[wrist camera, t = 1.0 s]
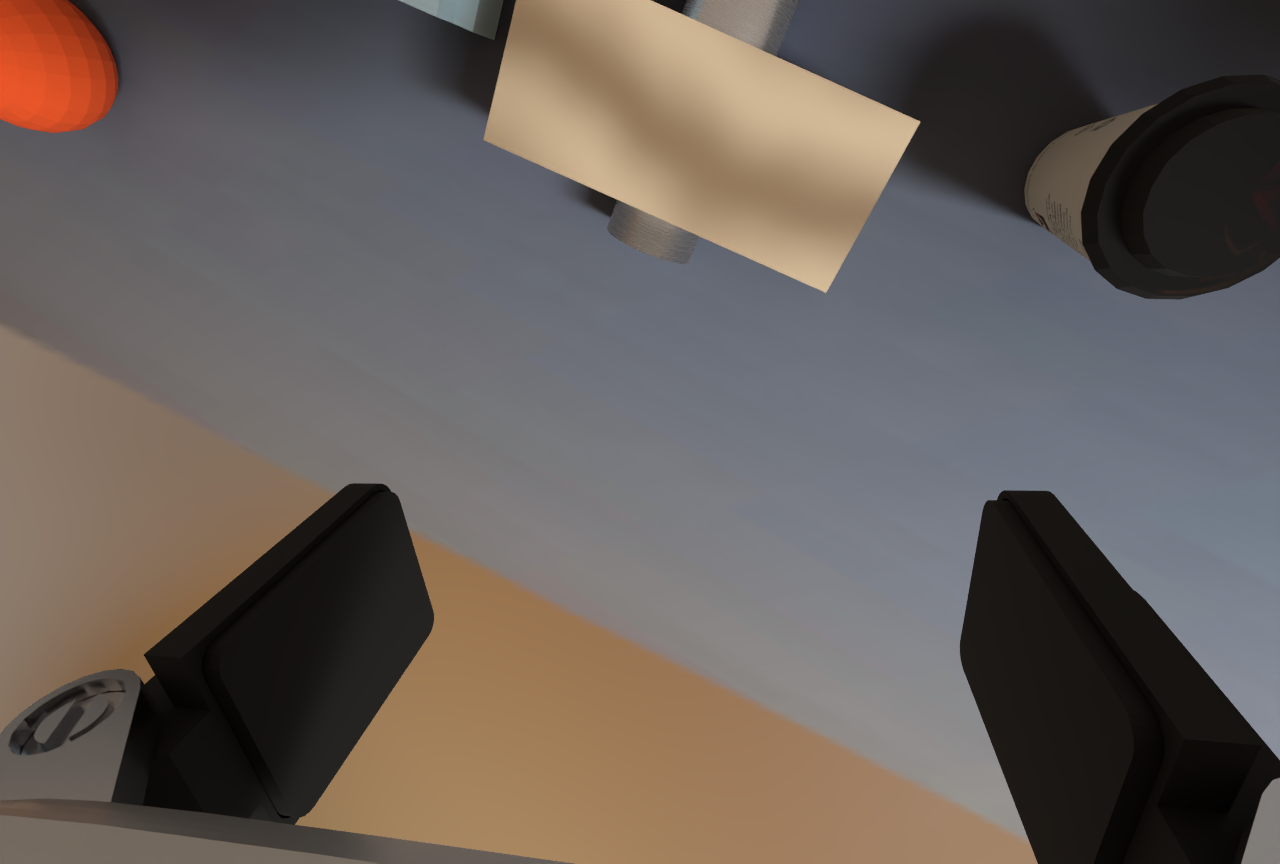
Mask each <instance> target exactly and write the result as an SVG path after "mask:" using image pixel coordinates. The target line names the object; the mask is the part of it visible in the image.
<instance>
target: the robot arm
mask: <svg viewBox="0 0 1280 864" xmlns="http://www.w3.org/2000/svg"><path fill="white" fill-rule="evenodd" d="M433 622H434V613H433V609H432V606H431V602H430V599H429V596H428V592H427V589H426V586H425V582H424V579H423V576H422V573H421V569H420V566H419V563H418V559H417V556H416V553H415V549H414V546H413V543H412V539H411V536H410V533H409V530H408V526H407V523H406V520H405V516H404V513H403V510H402V506H401V503H400V500H399V498H398V496H397V495H396V494H395V493H393V492H391V491H390V489H389V488H388V487H387V486H386V485H384V484H349V485H347V486H346V487H344V488H343V489H342V490H341V491H339V492H338V493H337V494H336V495H335V496H334V497H332V498H331V499H330V500H329V501H328V502H326V503H325V504H324V505H323V506H321V507H320V508H319V509H318V510H317V511H315V512H314V513H313V514H312V515H311V516H309V518H307V519H306V520H305V521H303V522H302V523H301V524H300V525H299V526H297V527H296V528H295V529H294V530H293V531H292V532H290V533H289V534H288V535H287V536H285V537H284V538H283V539H282V540H281V541H279V542H278V543H277V544H276V545H275V546H273V547H272V548H271V549H270V550H269V551H267V552H266V553H265V554H264V555H263V556H261V557H260V558H259V559H258V560H257V561H255V562H254V563H253V564H252V565H251V566H250V567H248V568H247V569H246V570H245V571H244V572H242V573H241V574H240V575H239V576H237V577H236V578H235V579H234V580H233V581H232V582H230V583H229V584H228V585H227V586H226V587H225V588H223V589H222V590H221V591H220V592H218V593H217V594H216V595H215V596H214V597H212V598H211V599H210V600H209V601H208V602H206V603H205V604H204V605H203V606H202V607H200V608H199V609H198V610H197V611H196V612H194V613H193V614H192V615H191V616H190V617H188V618H187V619H186V620H185V621H184V622H183V623H181V624H180V625H179V626H178V627H177V628H175V629H174V630H173V631H172V632H170V633H169V634H168V635H167V636H166V637H164V638H163V639H162V640H161V641H160V642H158V643H157V644H156V645H155V646H154V647H152V648H151V649H150V650H149V651H148V652H146V653H145V654H144V656H145V658H146V659H147V661H148V663H149V665H150V666H151V668H152V670H153V671H154V673H155V676H154V677H152V678H151V679H150V680H149V681H148V682H147V683H146V684H145V685H144V683H143V682H142V680H141V679H140V677H139V676H138V675H137V674H136V673H134V671H130V670H124V669H116V670H106V671H102V672H98V673H95V674H92V675H88V676H84V677H82V678H80V679H77V680H75V681H73V682H70V683H68V684H66V685H64V686H61V687H60V688H58V689H56V690H54V691H53V692H51V693H49V694H47V695H46V696H44V697H42V698H40V699H39V700H38V701H36V702H35V703H34V704H32V705H31V706H29V707H28V708H27V709H25V710H24V711H22V712H21V713H20V714H19V715H18V716H17V717H16V718H15V719H14V720H13V721H11V723H9V724H8V725H7V726H6V727H5V728H4V730H3V731H2V732H1V734H0V864H571V863H565V862H557V861H551V860H543V859H537V858H530V857H522V856H515V855H509V854H502V853H495V852H487V851H480V850H473V849H466V848H459V847H451V846H445V845H437V844H431V843H423V842H416V841H409V840H402V839H395V838H387V837H380V836H373V835H366V834H358V833H350V832H343V831H336V830H329V829H321V828H314V827H306V826H299V825H295V823H296V822H297V821H298V819H299V818H300V817H302V816H305V815H306V814H307V813H309V812H310V811H311V810H312V808H313V807H314V806H315V804H316V803H317V801H318V800H319V798H320V797H321V795H322V794H323V793H324V791H325V790H326V788H327V786H328V785H329V783H330V782H331V780H332V779H333V778H334V776H335V775H336V773H337V772H338V770H339V769H340V767H341V766H342V764H343V763H344V761H345V760H346V758H347V756H348V755H349V754H350V752H351V751H352V749H353V748H354V746H355V745H356V743H357V742H358V740H359V739H360V737H361V736H362V734H363V733H364V731H365V730H366V728H367V727H368V725H369V724H370V722H371V721H372V719H373V718H374V716H375V715H376V713H377V712H378V710H379V709H380V707H381V706H382V704H383V703H384V701H385V700H386V698H387V697H388V695H389V694H390V692H391V691H392V689H393V688H394V687H395V685H396V684H397V682H398V681H399V679H400V678H401V676H402V675H403V673H404V671H405V670H406V669H407V667H408V666H409V664H410V663H411V661H412V660H413V658H414V657H415V655H416V654H417V652H418V651H419V649H420V648H421V646H422V645H423V643H424V642H425V640H426V639H427V637H428V636H429V634H430V632H431V630H432V627H433ZM960 656H961V662H962V666H963V670H964V672H965V675H966V677H967V680H968V683H969V685H970V688H971V690H972V693H973V696H974V698H975V701H976V704H977V706H978V709H979V711H980V714H981V717H982V719H983V722H984V724H985V727H986V730H987V732H988V735H989V737H990V740H991V743H992V745H993V748H994V750H995V753H996V756H997V758H998V761H999V763H1000V766H1001V769H1002V771H1003V774H1004V776H1005V779H1006V782H1007V784H1008V787H1009V789H1010V792H1011V795H1012V797H1013V800H1014V802H1015V805H1016V808H1017V810H1018V813H1019V815H1020V818H1021V821H1022V823H1023V826H1024V829H1025V831H1026V834H1027V836H1028V839H1029V842H1030V844H1031V847H1032V849H1033V852H1034V854H1035V857H1036V860H1037V862H1038V864H1280V760H1279V759H1278V758H1277V757H1276V755H1275V754H1274V753H1273V752H1272V751H1271V749H1270V748H1269V747H1268V746H1267V745H1266V743H1265V742H1264V741H1263V740H1262V739H1261V737H1260V736H1259V735H1258V734H1257V733H1256V731H1255V730H1254V729H1253V728H1252V727H1251V726H1250V724H1249V723H1248V722H1247V721H1246V720H1245V718H1244V717H1243V716H1242V715H1241V714H1240V712H1239V711H1238V710H1237V709H1236V708H1235V706H1234V705H1233V704H1232V703H1231V702H1230V700H1229V699H1228V698H1227V697H1226V696H1225V694H1224V693H1223V692H1222V691H1221V690H1220V689H1219V687H1218V686H1217V685H1216V684H1215V683H1214V681H1213V680H1212V679H1211V678H1210V677H1209V675H1208V674H1207V673H1206V672H1205V671H1204V669H1203V668H1202V667H1201V666H1200V665H1199V663H1198V662H1197V661H1196V660H1195V659H1194V657H1193V656H1192V655H1191V654H1190V653H1189V652H1188V650H1187V649H1186V648H1185V647H1184V646H1183V644H1182V643H1181V642H1180V641H1179V640H1178V638H1177V637H1176V636H1175V635H1174V634H1173V632H1172V631H1171V630H1170V629H1169V628H1168V626H1167V625H1166V624H1165V623H1164V622H1163V620H1162V619H1161V618H1160V617H1159V616H1158V615H1157V613H1156V612H1155V611H1154V610H1153V609H1152V607H1151V606H1150V605H1149V604H1148V603H1147V601H1146V600H1145V599H1144V598H1143V597H1142V596H1140V595H1139V594H1138V593H1137V592H1136V591H1134V590H1133V589H1132V588H1131V587H1130V586H1129V585H1128V583H1127V582H1126V581H1125V580H1124V579H1123V577H1122V576H1121V575H1120V574H1119V573H1118V571H1117V570H1116V569H1115V568H1114V566H1113V565H1112V564H1111V563H1110V562H1109V560H1108V559H1107V558H1106V557H1105V556H1104V554H1103V553H1102V552H1101V551H1100V550H1099V548H1098V547H1097V546H1096V545H1095V544H1094V542H1093V541H1092V540H1091V539H1090V538H1089V536H1088V535H1087V534H1086V533H1085V532H1084V530H1083V529H1082V528H1081V527H1080V525H1079V524H1078V523H1077V522H1076V521H1075V519H1074V518H1073V517H1072V516H1071V515H1070V513H1069V512H1068V511H1067V510H1066V509H1065V507H1064V506H1063V505H1062V504H1061V503H1060V501H1059V500H1058V499H1057V498H1056V497H1055V495H1054V494H1052V493H1051V492H1049V491H1002V492H1001V493H1000V495H999V496H998V499H997V501H996V500H988V501H987V502H986V503H985V505H984V508H983V512H982V518H981V524H980V530H979V536H978V541H977V547H976V553H975V559H974V565H973V571H972V576H971V582H970V588H969V594H968V600H967V605H966V611H965V617H964V623H963V629H962V634H961V640H960Z"/></svg>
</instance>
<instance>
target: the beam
mask: <svg viewBox="0 0 1280 864" xmlns="http://www.w3.org/2000/svg"><path fill="white" fill-rule="evenodd" d="M919 124H920V121H918V120H916V119H913V118H911V117H909V116H907V115H905V114H902V113H900V112H898V111H896V110H893V109H891V108H889V107H887V106H885V105H882V104H880V103H878V102H876V101H873V100H871V99H869V98H867V97H865V96H862V95H860V94H858V93H856V92H853V91H851V90H849V89H847V88H845V87H842V86H840V85H838V84H836V83H834V82H831V81H829V80H827V79H825V78H822V77H820V76H818V75H816V74H814V73H811V72H809V71H807V70H805V69H802V68H800V67H798V66H796V65H794V64H791V63H789V62H787V61H785V60H782V59H780V58H778V57H776V56H774V55H771V54H769V53H767V52H765V51H762V50H760V49H758V48H756V47H754V46H751V45H749V44H747V43H745V42H742V41H740V40H738V39H736V38H734V37H731V36H729V35H727V34H725V33H723V32H720V31H718V30H716V29H714V28H711V27H709V26H707V25H705V24H703V23H700V22H698V21H696V20H694V19H691V18H689V17H687V16H685V15H683V14H680V13H678V12H676V11H674V10H671V9H669V8H667V7H665V6H663V5H660V4H658V3H656V2H654V1H651V0H516V3H515V8H514V12H513V16H512V20H511V25H510V29H509V33H508V37H507V42H506V46H505V50H504V55H503V59H502V63H501V67H500V72H499V76H498V80H497V84H496V89H495V93H494V97H493V101H492V106H491V110H490V114H489V119H488V123H487V127H486V131H485V136H484V140H485V141H487V142H489V143H491V144H494V145H496V146H498V147H500V148H503V149H505V150H507V151H509V152H512V153H514V154H516V155H518V156H521V157H523V158H525V159H527V160H529V161H532V162H534V163H536V164H538V165H541V166H543V167H545V168H547V169H550V170H552V171H554V172H556V173H559V174H561V175H563V176H565V177H568V178H570V179H572V180H574V181H577V182H579V183H581V184H583V185H586V186H588V187H590V188H592V189H595V190H597V191H599V192H601V193H604V194H606V195H608V196H610V197H612V198H615V199H617V200H619V201H621V202H624V203H626V204H628V205H630V206H633V207H635V208H637V209H639V210H642V211H644V212H646V213H648V214H651V215H653V216H655V217H657V218H660V219H662V220H664V221H666V222H669V223H671V224H673V225H675V226H678V227H680V228H682V229H684V230H687V231H689V232H691V233H693V234H695V235H698V236H700V237H702V238H704V239H707V240H709V241H711V242H713V243H716V244H718V245H720V246H722V247H725V248H727V249H729V250H731V251H734V252H736V253H738V254H740V255H743V256H745V257H747V258H749V259H752V260H754V261H756V262H758V263H761V264H763V265H765V266H767V267H770V268H772V269H774V270H776V271H778V272H781V273H783V274H785V275H787V276H790V277H792V278H794V279H796V280H799V281H801V282H803V283H805V284H808V285H810V286H812V287H814V288H817V289H819V290H821V291H823V292H827V290H828V288H829V287H830V285H831V283H832V281H833V279H834V278H835V276H836V274H837V272H838V270H839V269H840V267H841V265H842V263H843V261H844V259H845V258H846V256H847V254H848V252H849V250H850V249H851V247H852V245H853V243H854V241H855V240H856V238H857V236H858V234H859V232H860V231H861V229H862V227H863V225H864V223H865V221H866V220H867V218H868V216H869V214H870V212H871V211H872V209H873V207H874V205H875V203H876V202H877V200H878V198H879V196H880V194H881V193H882V191H883V189H884V187H885V185H886V183H887V182H888V180H889V178H890V176H891V174H892V173H893V171H894V169H895V167H896V165H897V164H898V162H899V160H900V158H901V156H902V155H903V153H904V151H905V149H906V147H907V145H908V144H909V142H910V140H911V138H912V136H913V135H914V133H915V131H916V129H917V127H918V126H919Z"/></svg>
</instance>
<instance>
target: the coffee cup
mask: <svg viewBox="0 0 1280 864" xmlns="http://www.w3.org/2000/svg"><path fill="white" fill-rule="evenodd" d="M1024 193H1025V205H1026V207H1027V209H1028V211H1029V213H1030V215H1031V217H1032V218H1033V219H1034V220H1035V221H1036V222H1037V223H1039V224H1040V225H1041V226H1042V227H1043V228H1045V229H1046V230H1048V231H1049V232H1050V233H1052V234H1053V235H1054V236H1056V237H1057V238H1059V239H1060V240H1061V241H1063V242H1064V243H1066V244H1067V245H1068V246H1070V247H1071V248H1073V249H1074V250H1075V251H1077V252H1078V253H1080V254H1081V255H1082V256H1084V257H1085V258H1087V259H1088V260H1089V261H1091V263H1092V265H1093V267H1094V269H1095V270H1096V271H1097V272H1098V273H1099V274H1100V275H1101V276H1103V277H1104V278H1105V279H1106V280H1107V281H1108V282H1110V283H1111V284H1112V285H1113V286H1114V287H1115V288H1117V289H1119V290H1122V291H1125V292H1128V293H1131V294H1134V295H1137V296H1140V297H1143V298H1146V299H1184V298H1188V297H1192V296H1197V295H1201V294H1205V293H1209V292H1213V291H1218V290H1221V289H1225V288H1229V287H1231V286H1233V285H1235V284H1237V283H1239V282H1241V281H1243V280H1245V279H1247V278H1249V277H1251V276H1253V275H1255V274H1257V273H1259V272H1261V271H1263V270H1265V269H1266V268H1267V267H1268V266H1270V265H1271V264H1272V263H1273V262H1275V261H1276V260H1277V259H1278V258H1280V80H1278V79H1275V78H1271V77H1268V76H1265V75H1247V76H1222V77H1219V78H1216V79H1213V80H1210V81H1207V82H1204V83H1201V84H1198V85H1195V86H1191V87H1188V88H1185V89H1182V90H1180V91H1178V92H1177V93H1175V94H1173V95H1172V96H1170V97H1169V98H1167V99H1165V100H1164V101H1162V102H1161V103H1158V104H1154V105H1151V106H1148V107H1145V108H1141V109H1138V110H1135V111H1132V112H1128V113H1125V114H1122V115H1118V116H1115V117H1112V118H1109V119H1105V120H1102V121H1099V122H1096V123H1092V124H1089V125H1086V126H1083V127H1080V128H1077V129H1073V130H1070V131H1068V132H1066V133H1064V134H1063V135H1061V136H1060V137H1058V138H1057V139H1055V140H1053V141H1052V142H1051V143H1050V144H1049V145H1048V146H1047V147H1046V148H1045V149H1044V150H1043V151H1042V152H1041V153H1040V154H1039V155H1038V156H1037V158H1036V160H1035V161H1034V163H1033V165H1032V167H1031V168H1030V170H1029V172H1028V175H1027V180H1026V184H1025V188H1024Z"/></svg>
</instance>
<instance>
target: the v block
mask: <svg viewBox="0 0 1280 864" xmlns="http://www.w3.org/2000/svg"><path fill="white" fill-rule="evenodd" d="M399 1H402V2H404V3H406V4H408V5H411V6H413V7H415V8H417V9H419V10H422V11H424V12H426V13H428V14H431V15H433V16H435V17H437V18H440V19H443V20H445V21H448V22H451V23H453V24H455V25H458V26H460V27H462V28H464V29H467V30H469V31H471V32H473V33H476V34H479V35H481V36H484V37H487V38H489V39H492V40H495V36H496V32H497V27H498V23H499V18H500V14H501V10H502V5H503V1H504V0H399Z"/></svg>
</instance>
